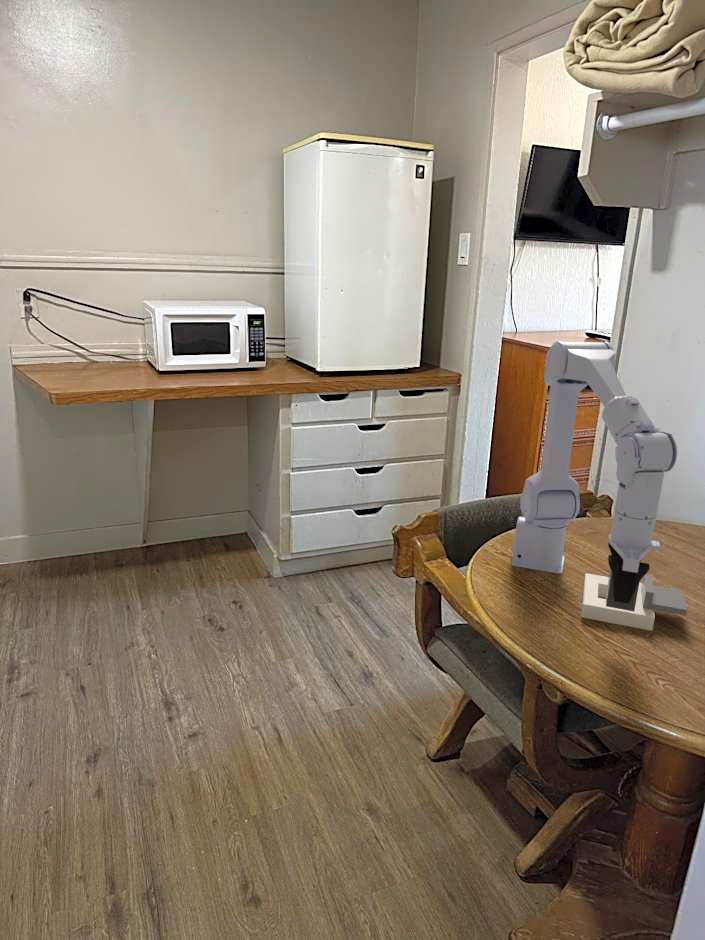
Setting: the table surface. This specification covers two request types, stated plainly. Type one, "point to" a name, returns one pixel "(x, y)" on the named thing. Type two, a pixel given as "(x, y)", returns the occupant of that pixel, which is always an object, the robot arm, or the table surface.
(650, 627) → the socket plate
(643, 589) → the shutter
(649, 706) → the table surface
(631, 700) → the table surface
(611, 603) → the plug
